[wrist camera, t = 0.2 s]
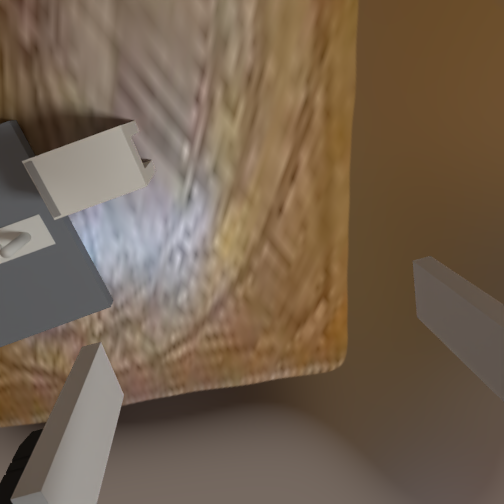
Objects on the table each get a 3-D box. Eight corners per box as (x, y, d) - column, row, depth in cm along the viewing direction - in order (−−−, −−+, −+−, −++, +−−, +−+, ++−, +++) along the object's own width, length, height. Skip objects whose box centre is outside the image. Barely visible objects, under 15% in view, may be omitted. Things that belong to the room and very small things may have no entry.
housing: (55, 149, 38) (21, 161, 31) (134, 120, 38) (119, 125, 31) (80, 197, 40) (54, 220, 33) (156, 170, 40) (146, 186, 33)
